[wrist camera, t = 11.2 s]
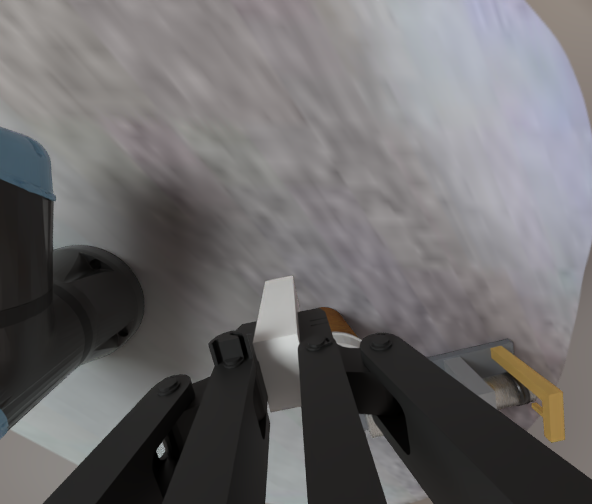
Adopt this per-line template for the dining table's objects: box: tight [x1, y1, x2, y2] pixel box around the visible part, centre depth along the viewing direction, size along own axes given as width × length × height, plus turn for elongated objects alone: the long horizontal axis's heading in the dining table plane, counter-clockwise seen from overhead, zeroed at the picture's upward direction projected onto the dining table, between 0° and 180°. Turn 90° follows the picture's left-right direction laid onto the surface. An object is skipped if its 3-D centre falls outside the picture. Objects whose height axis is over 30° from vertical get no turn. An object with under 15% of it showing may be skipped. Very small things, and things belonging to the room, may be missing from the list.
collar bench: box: [359, 339, 565, 443], centre depth 41 cm, size 28×9×11 cm, turn 104°
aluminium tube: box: [365, 372, 537, 438], centre depth 42 cm, size 22×4×4 cm, turn 104°
